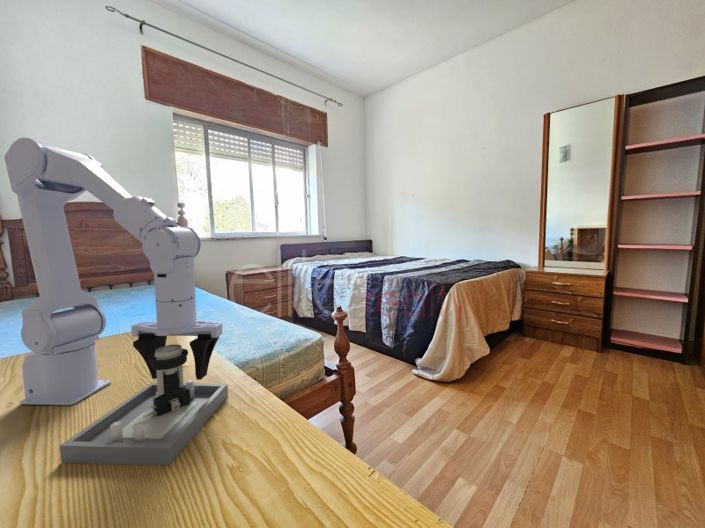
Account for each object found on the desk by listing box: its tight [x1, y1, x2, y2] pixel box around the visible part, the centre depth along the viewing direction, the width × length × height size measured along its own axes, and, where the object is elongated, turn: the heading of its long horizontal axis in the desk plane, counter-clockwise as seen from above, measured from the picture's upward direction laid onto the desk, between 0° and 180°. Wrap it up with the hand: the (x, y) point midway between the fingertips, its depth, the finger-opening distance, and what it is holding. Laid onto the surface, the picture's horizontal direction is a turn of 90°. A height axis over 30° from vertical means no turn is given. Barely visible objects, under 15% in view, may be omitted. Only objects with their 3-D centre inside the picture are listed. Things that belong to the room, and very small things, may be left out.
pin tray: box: [59, 379, 229, 466], centre depth 44 cm, size 14×16×4 cm
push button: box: [142, 343, 190, 418], centre depth 46 cm, size 7×5×10 cm
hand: (180, 376), depth 49 cm, fingers open, 7 cm apart
